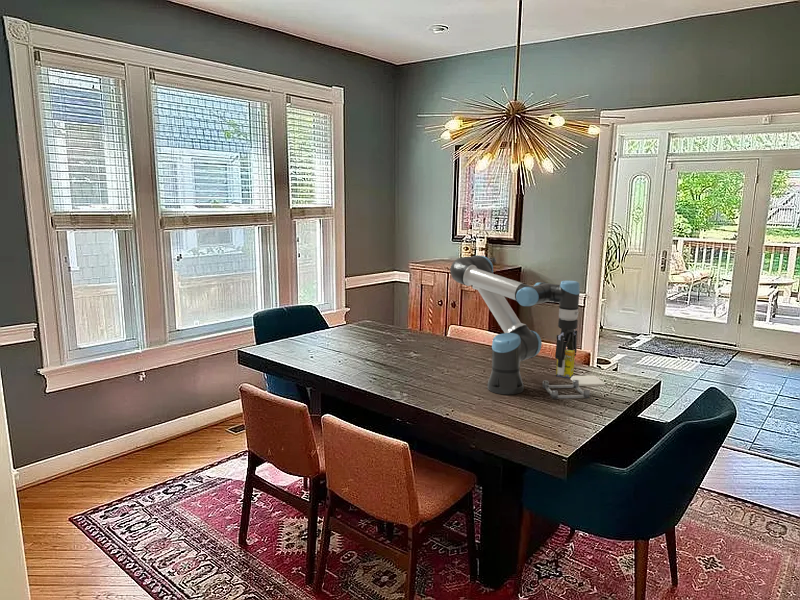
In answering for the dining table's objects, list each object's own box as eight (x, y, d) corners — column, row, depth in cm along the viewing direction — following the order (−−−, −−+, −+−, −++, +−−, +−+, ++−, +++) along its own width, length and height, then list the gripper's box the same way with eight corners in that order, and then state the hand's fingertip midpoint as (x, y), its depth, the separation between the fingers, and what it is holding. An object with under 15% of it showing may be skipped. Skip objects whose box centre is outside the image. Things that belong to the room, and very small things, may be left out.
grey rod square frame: (552, 399, 222) (552, 392, 221) (542, 387, 237) (542, 380, 236) (590, 398, 222) (590, 391, 221) (577, 386, 237) (577, 379, 237)
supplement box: (555, 376, 227) (557, 351, 225) (559, 373, 233) (560, 348, 231) (570, 379, 225) (571, 353, 223) (573, 375, 230) (575, 350, 228)
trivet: (577, 386, 237) (577, 384, 237) (568, 377, 249) (568, 376, 249) (605, 385, 238) (605, 383, 237) (595, 377, 249) (595, 375, 249)
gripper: (565, 323, 215) (561, 380, 219) (587, 316, 229) (584, 369, 233) (547, 320, 220) (544, 375, 224) (570, 313, 234) (567, 365, 238)
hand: (564, 372), depth 228 cm, fingers closed on supplement box, 7 cm apart
